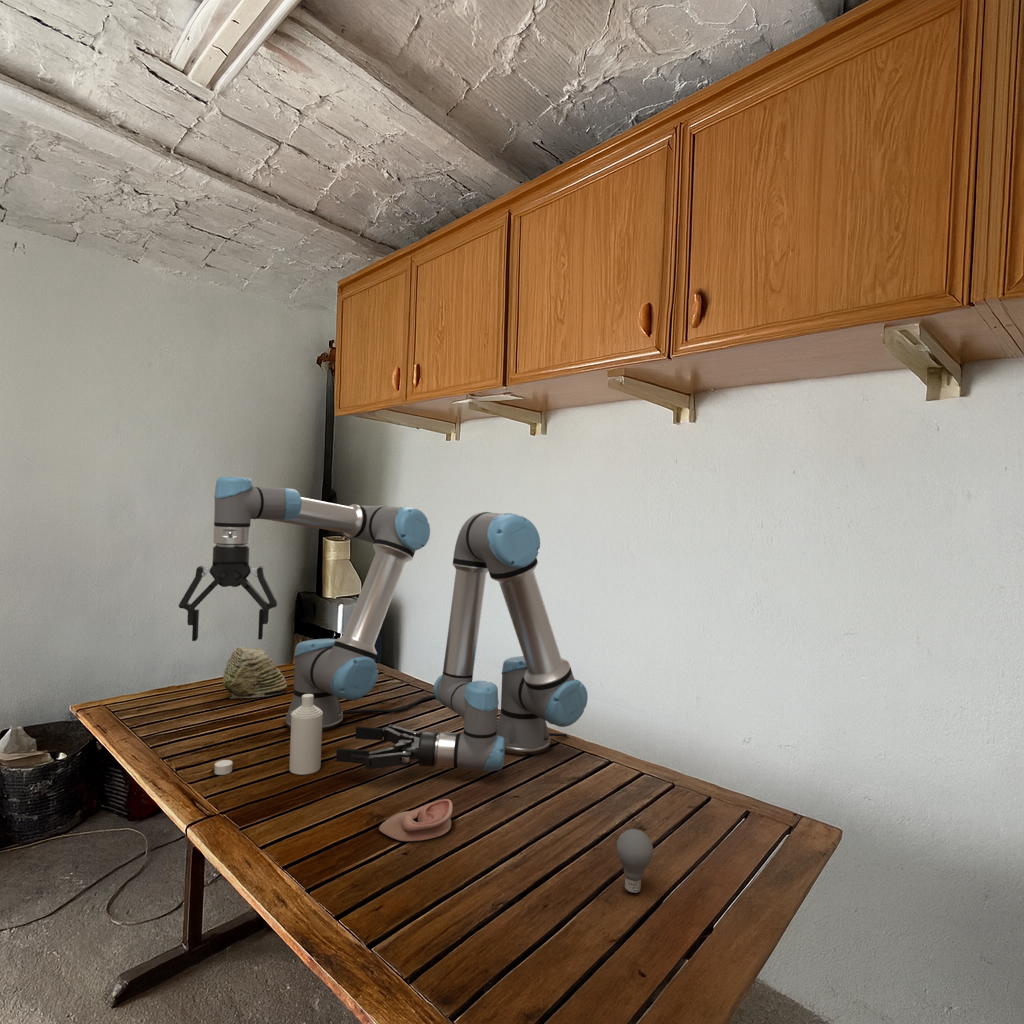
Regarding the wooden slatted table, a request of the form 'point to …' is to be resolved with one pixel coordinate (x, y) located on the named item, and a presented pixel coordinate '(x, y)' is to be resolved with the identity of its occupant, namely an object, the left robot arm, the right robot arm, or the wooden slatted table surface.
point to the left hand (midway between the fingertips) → (228, 639)
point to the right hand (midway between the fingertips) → (346, 743)
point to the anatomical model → (420, 822)
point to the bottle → (306, 737)
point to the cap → (223, 767)
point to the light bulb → (634, 857)
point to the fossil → (252, 674)
